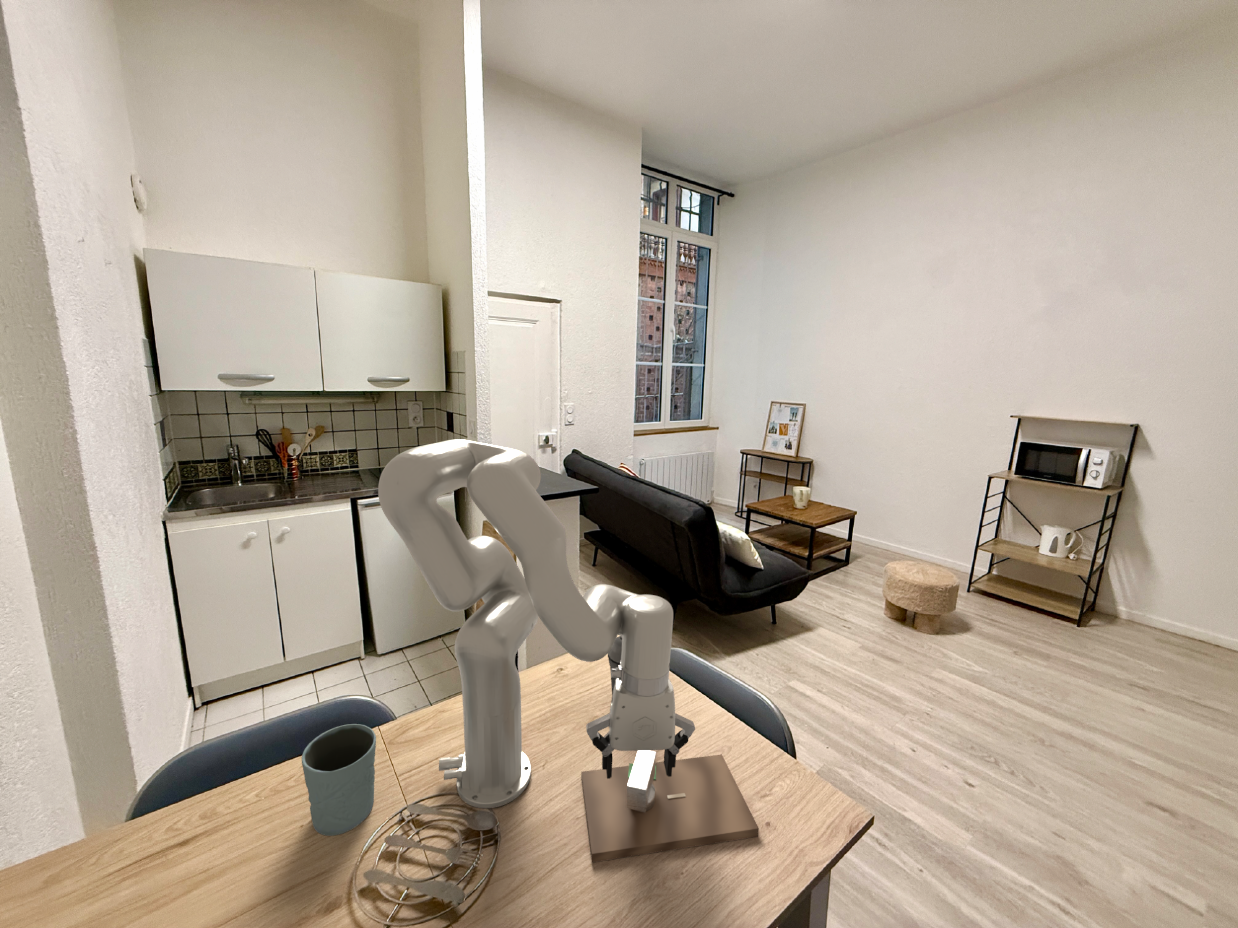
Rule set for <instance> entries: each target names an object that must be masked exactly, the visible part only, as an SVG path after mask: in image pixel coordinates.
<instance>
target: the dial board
mask: <svg viewBox="0 0 1238 928" xmlns="http://www.w3.org/2000/svg"><path fill="white" fill-rule="evenodd" d="M633 765H634V763H628V765H625V766H617V767H612V777H611V778H610V779H607V773H606V770H602V768H599V769H593V770H585V771H581V772H580V773H581V774H580V775H581V776H580V778H581V786H582V795H583V803H584V810H585V819H586V827H587V835H588V843H589V851H590V852H589V853H590V858H591V863H597V862H603V861H610V860H615V859H622V858H623V859H624V858H627V857H628V858H630V857H636V856H643V855H648V854H654V853H659V852H661V853H662V852H667V851H668V852H669V851H675V850H680V849H686V848H692V847H699V846H700V847H701V846H706V845H713V844H718V843H724V842H731V841H737V840H743V839H750V838H758V837H759V832H760V831H759V830H760V828H759V826H758V824H757V821H756V820H755V818H754V816H753V813H752V812H751V810H750V807H749V806H748V804H747V801H746V800H745V798H744V796H743V794H742V791H741V790H740V788H739V786H738V784H737V782H736V779H735V778H734V776H733V773H732V772H731V770H730V768H729V766H728V764H727V762H726V760H725V758H724V756H723V754H713V755H707V756H705V755H704V756H699V757H698V756H697V757H690V758H682V759H676V764H675V767H674V768H672V776H671V777H668V776H667V775H666V770H665V766H664V761H658V762H657V761H656V765H655V775H654V779H653V783H652V784H653V785H654V788H655V802H654V805H653V807H652V808H651V809H650V810H648V811H646V812H639V811H636V810H633V809H629V808H626V806H627V784H628V781H629V778H630V775H631V771H632V768H633Z"/></svg>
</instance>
